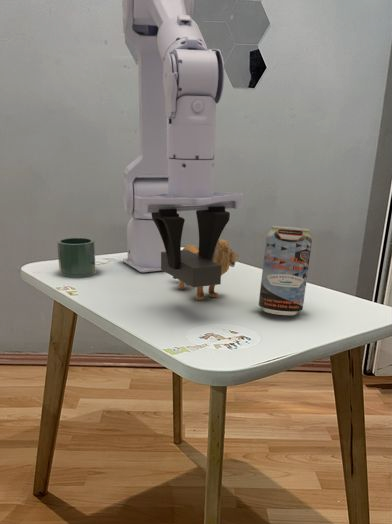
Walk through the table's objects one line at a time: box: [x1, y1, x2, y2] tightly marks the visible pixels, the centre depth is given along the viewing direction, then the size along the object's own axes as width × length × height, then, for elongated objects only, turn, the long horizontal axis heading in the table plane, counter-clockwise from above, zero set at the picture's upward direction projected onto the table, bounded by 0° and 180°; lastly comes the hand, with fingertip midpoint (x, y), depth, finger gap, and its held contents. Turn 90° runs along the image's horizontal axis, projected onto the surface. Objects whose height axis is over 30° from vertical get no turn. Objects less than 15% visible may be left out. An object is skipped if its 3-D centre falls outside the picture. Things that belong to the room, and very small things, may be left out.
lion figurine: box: [172, 239, 240, 301], centre depth 86 cm, size 15×5×9 cm, turn 35°
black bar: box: [161, 249, 222, 288], centre depth 75 cm, size 10×4×2 cm, turn 27°
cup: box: [56, 237, 97, 278], centre depth 96 cm, size 6×6×6 cm
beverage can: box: [258, 225, 313, 316], centre depth 76 cm, size 6×7×12 cm
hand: (189, 266), depth 75 cm, fingers closed on black bar, 4 cm apart
